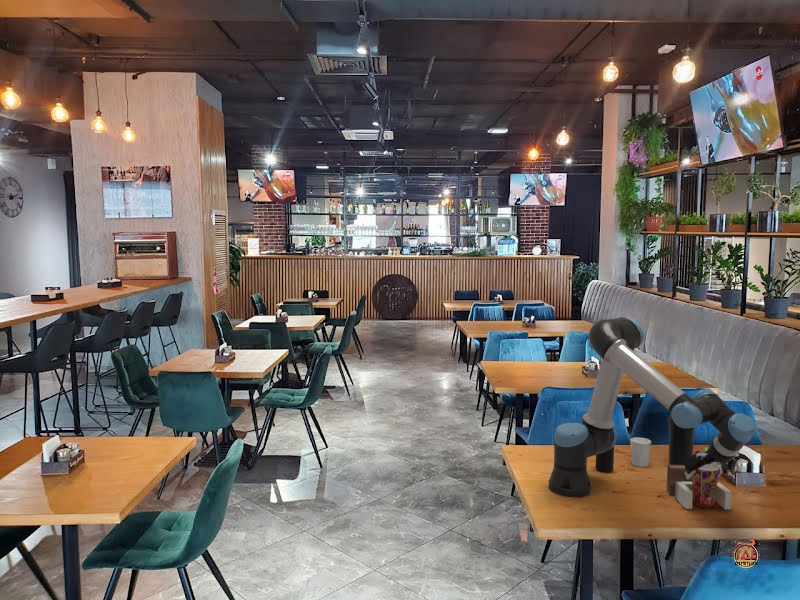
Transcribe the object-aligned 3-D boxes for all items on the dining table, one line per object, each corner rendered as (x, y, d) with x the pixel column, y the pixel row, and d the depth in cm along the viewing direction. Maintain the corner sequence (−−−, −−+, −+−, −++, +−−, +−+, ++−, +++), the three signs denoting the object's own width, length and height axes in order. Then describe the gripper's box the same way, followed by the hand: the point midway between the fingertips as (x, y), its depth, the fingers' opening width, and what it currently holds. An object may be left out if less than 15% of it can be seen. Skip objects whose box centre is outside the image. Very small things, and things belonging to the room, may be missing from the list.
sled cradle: (730, 509, 206) (731, 492, 206) (685, 508, 207) (686, 491, 206) (718, 498, 215) (718, 482, 215) (674, 497, 216) (675, 481, 215)
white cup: (653, 467, 246) (654, 443, 245) (633, 467, 246) (634, 443, 245) (646, 460, 254) (646, 437, 253) (626, 460, 254) (627, 437, 253)
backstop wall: (715, 495, 218) (716, 468, 218) (669, 494, 219) (671, 467, 218) (711, 492, 221) (712, 465, 221) (666, 491, 222) (667, 464, 221)
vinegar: (591, 469, 244) (593, 420, 242) (602, 465, 248) (603, 417, 246) (606, 474, 239) (608, 424, 237) (616, 470, 243) (618, 421, 241)
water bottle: (697, 465, 248) (700, 410, 246) (689, 472, 240) (691, 415, 238) (671, 459, 255) (673, 406, 253) (662, 466, 247) (665, 410, 245)
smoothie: (715, 511, 204) (718, 453, 203) (688, 505, 209) (691, 449, 207) (718, 502, 211) (721, 446, 210) (691, 497, 216) (694, 442, 214)
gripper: (694, 457, 193) (672, 486, 211) (763, 458, 192) (734, 487, 210) (688, 435, 198) (666, 465, 215) (754, 436, 197) (727, 466, 215)
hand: (700, 476), depth 213 cm, fingers closed on smoothie, 8 cm apart
